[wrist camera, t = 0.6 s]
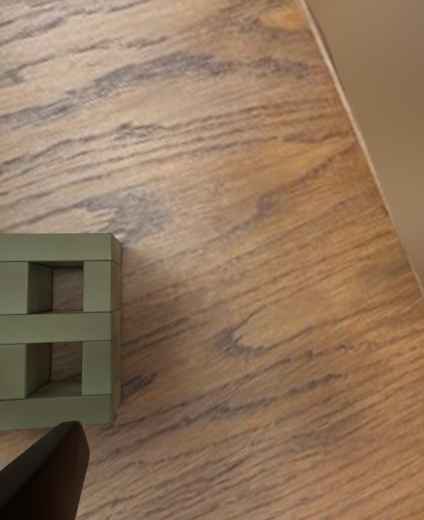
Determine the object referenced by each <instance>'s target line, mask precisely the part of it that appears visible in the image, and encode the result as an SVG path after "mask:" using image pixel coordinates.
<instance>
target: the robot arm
mask: <svg viewBox="0 0 424 520" xmlns="http://www.w3.org/2000/svg"><path fill="white" fill-rule="evenodd" d="M89 456H90V451H89V446H88V442H87V439H86V436H85V433H84V430H83V427H82V424H81V423H80V422H79V421H77V420H75V421H66V422H62V423H60V424H58V425H57V426H56V427H55V428H53V429H52V430H51V431H50V432H48V433H47V434H46V435H45V436H43V437H42V438H41V439H40V440H38V441H37V442H36V443H35V444H33V445H32V446H31V447H30V448H28V449H27V450H26V451H25V452H23V453H22V454H21V455H20V456H18V457H17V458H16V459H15V460H13V461H12V462H11V463H10V464H8V465H7V466H6V467H5V468H3V469H2V470H1V471H0V520H75V517H76V513H77V509H78V504H79V500H80V496H81V492H82V487H83V483H84V479H85V475H86V471H87V466H88V462H89Z"/></svg>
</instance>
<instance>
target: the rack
mask: <svg viewBox="0 0 424 520" xmlns="http://www.w3.org/2000/svg"><path fill="white" fill-rule="evenodd" d="M121 256H122V244H121V243H120V242H119V241H118V240H117V239H116V238H115V237H114V236H113V235H112V234H110V233H108V234H0V431H3V430H19V429H34V428H50V427H56V426H57V425H58V424H60V423H62V422H66V421H75V420H77V421H79V422H80V423H81V424H82V425H97V424H110V423H111V421H112V419H113V417H114V415H115V413H116V411H117V409H118V407H119V404H120V402H121ZM56 266H84V269H83V310H65V311H51V304H52V267H56ZM82 341H84V342H83V343H82V380H63V381H49V380H50V351H51V343H55V342H82Z"/></svg>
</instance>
